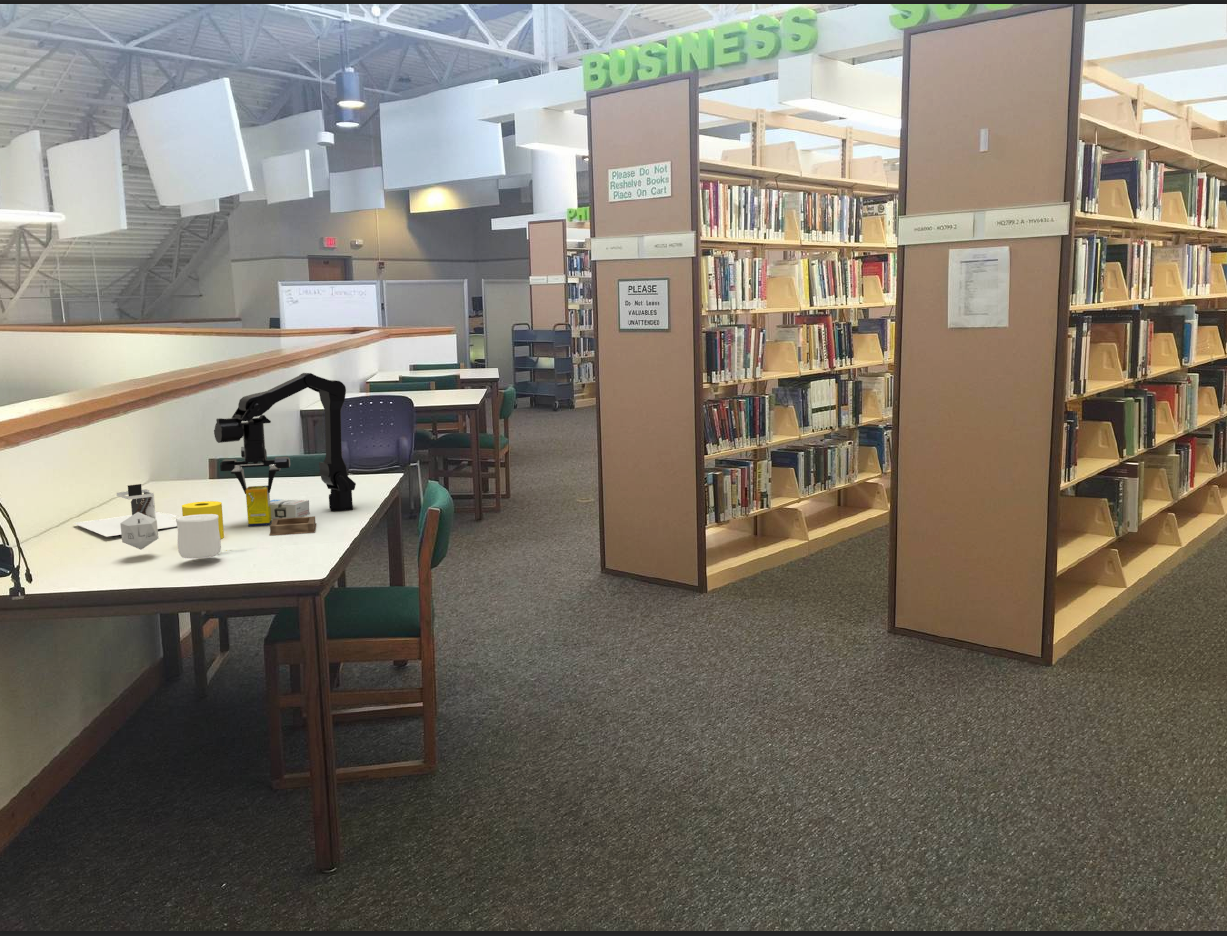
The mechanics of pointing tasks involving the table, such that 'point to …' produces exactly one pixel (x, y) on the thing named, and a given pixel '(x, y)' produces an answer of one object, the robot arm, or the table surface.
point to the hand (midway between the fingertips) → (257, 493)
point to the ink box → (289, 508)
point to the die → (139, 530)
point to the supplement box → (258, 506)
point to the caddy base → (293, 525)
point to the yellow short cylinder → (205, 511)
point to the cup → (198, 536)
